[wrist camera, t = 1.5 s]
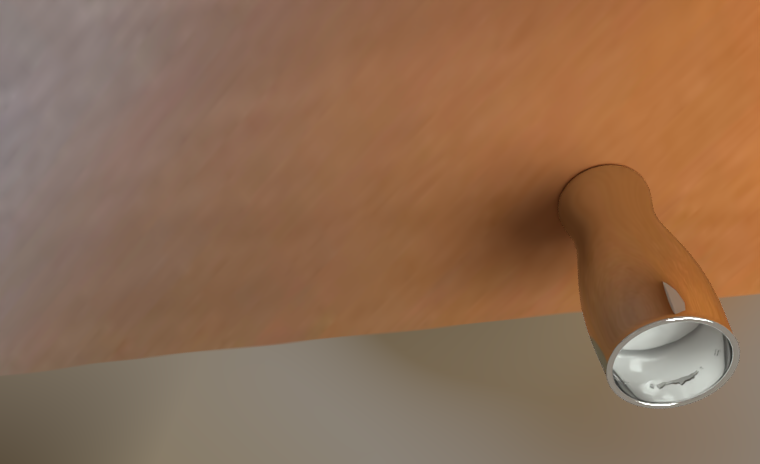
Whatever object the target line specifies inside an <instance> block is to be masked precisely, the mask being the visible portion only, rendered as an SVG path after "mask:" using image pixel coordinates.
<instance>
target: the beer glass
mask: <svg viewBox="0 0 760 464" xmlns="http://www.w3.org/2000/svg"><path fill="white" fill-rule="evenodd" d="M558 216H559V219H560V222H561V224H562V226H563V227H564V229H565V230H566V232H567V233H568V235H569V236H570V238H571V239H572V240H573V242H574V245H575V248H576V252H577V267H578V286H579V295H580V303H581V309H582V313H583V317H584V321H585V325H586V328H587V331H588V333H589V336H590V339H591V342H592V345H593V347H594V349H595V352H596V354H597V356H598V359H599V361H600V363H601V365H602V368H603V370H604V372H605V374H606V377H607V381H608V383H609V385H610V387H611V389H612V390H613V391H614V392H615V393H616V394H617V395H618V396H619V397H620V398H622V399H623V400H625V401H627V402H629V403H631V404H634V405H637V406H641V407H646V408H673V407H679V406H683V405H687V404H690V403H693V402H696V401H699V400H701V399H703V398H705V397H707V396H709V395H710V394H712V393H714V392H715V391H717V390H718V389H719V388H720V387H722V386H723V385H724V384H725V383H726V382H727V381H728V380H729V379H730V377H731V376H732V375H733V373H734V371H735V369H736V367H737V365H738V362H739V358H740V349H739V344H738V341H737V339H736V337H735V336H734V334H733V332H732V330H731V327H730V325H729V322H728V319H727V317H726V315H725V312H724V310H723V308H722V305H721V303H720V301H719V299H718V297H717V295H716V293H715V291H714V289H713V287H712V285H711V283H710V281H709V280H708V278H707V276H706V275H705V273H704V272H703V270H702V268H701V267H700V265H699V264H698V263H697V261H696V260H695V259H694V258H693V257H692V255H691V254H690V253H689V252H688V250H687V249H686V248H685V247H684V246H683V245H682V244H681V243H680V242H679V241H678V240H677V238H676V237H675V236H674V235H673V234H672V233H671V232H670V231H669V230H668V229H667V228H666V227H665V226H664V225H663V224H662V223H661V221H660V220H659V219H658V217H657V216H656V214H655V212H654V208H653V203H652V197H651V193H650V189H649V187H648V185H647V183H646V181H645V180H644V178H643V177H642V176H641V175H640V174H638V173H637V172H636V171H634V170H632V169H630V168H627V167H624V166H620V165H602V166H597V167H594V168H591V169H588V170H586V171H584V172H582V173H580V174H579V175H577V176H576V177H575V178H574V179H572V180H571V181H570V182H569V183H568V184H567V186H566V187H565V188H564V190H563V192H562V194H561V196H560V199H559V203H558Z"/></svg>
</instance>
